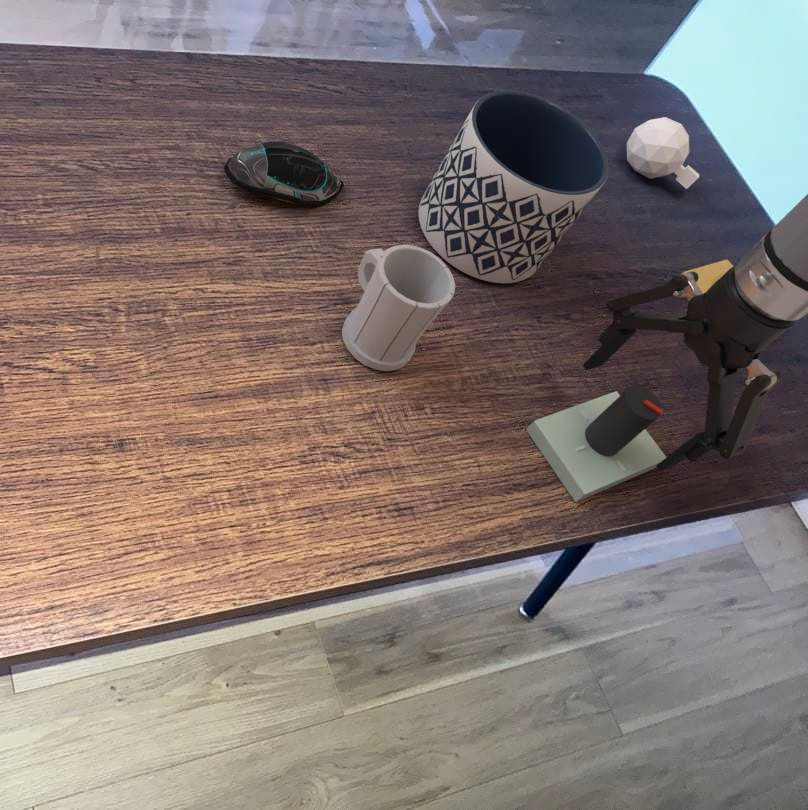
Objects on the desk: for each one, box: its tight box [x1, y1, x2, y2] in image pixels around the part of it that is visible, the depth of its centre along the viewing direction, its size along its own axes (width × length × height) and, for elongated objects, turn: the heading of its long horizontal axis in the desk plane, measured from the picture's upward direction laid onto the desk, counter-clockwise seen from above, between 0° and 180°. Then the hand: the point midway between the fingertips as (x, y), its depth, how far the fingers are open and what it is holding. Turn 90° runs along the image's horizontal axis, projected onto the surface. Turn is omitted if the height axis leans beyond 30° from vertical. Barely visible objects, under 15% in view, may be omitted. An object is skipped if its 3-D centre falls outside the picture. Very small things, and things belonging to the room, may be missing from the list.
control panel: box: [525, 390, 667, 503], centre depth 105 cm, size 14×10×2 cm
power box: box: [681, 259, 734, 302], centre depth 126 cm, size 12×10×4 cm
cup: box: [341, 244, 456, 372], centre depth 101 cm, size 10×9×12 cm
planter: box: [417, 89, 609, 284], centre depth 115 cm, size 18×18×16 cm
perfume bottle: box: [626, 116, 700, 190], centre depth 138 cm, size 9×9×12 cm
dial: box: [585, 385, 664, 456], centre depth 101 cm, size 4×4×8 cm
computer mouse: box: [223, 141, 345, 209], centre depth 114 cm, size 9×17×6 cm, turn 103°
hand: (628, 414), depth 100 cm, fingers open, 13 cm apart
